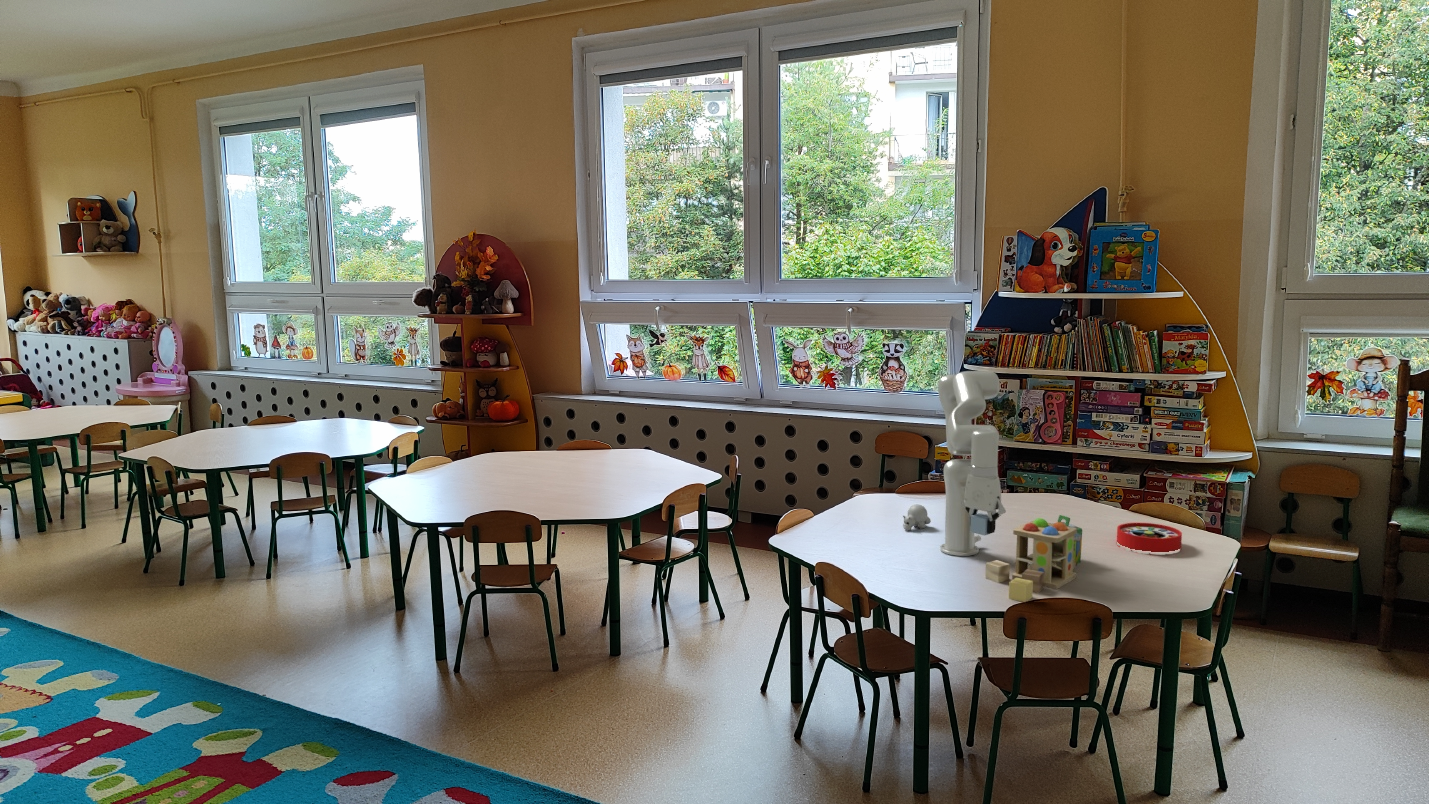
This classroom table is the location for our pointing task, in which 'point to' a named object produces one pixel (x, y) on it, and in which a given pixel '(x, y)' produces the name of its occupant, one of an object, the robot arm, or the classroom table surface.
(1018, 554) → the pounding bench toy
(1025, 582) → the mustard cube
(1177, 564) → the classroom table surface
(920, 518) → the chubby cartoon animal
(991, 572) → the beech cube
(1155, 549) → the toy clock
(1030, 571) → the walnut cube
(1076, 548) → the chalk box
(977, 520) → the slate-blue cube
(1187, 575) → the classroom table surface
